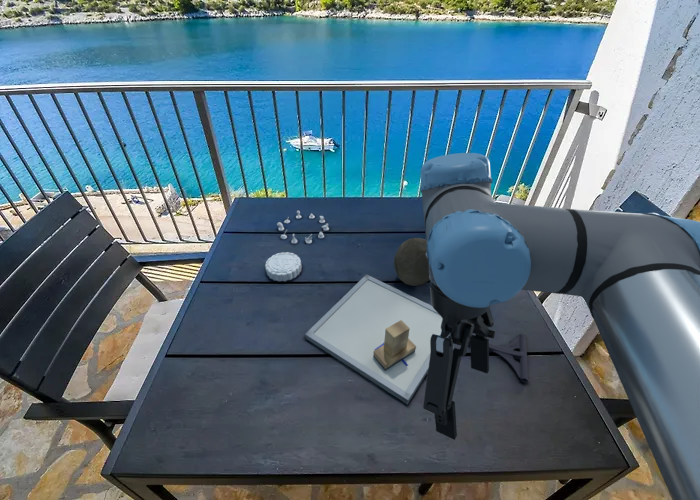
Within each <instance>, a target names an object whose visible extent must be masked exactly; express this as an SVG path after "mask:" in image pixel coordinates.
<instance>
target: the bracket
mask: <svg viewBox="0 0 700 500" xmlns="http://www.w3.org/2000/svg"><path fill="white" fill-rule="evenodd" d="M468 346H470V339H469V343H468ZM527 346H528V345H527V335H526V334H525V333H520V334H519V335H518V336H517V337H516V338H515V339H514V340H513V341H511V342H510V343H508V344H502V345H498V344H492V343H489V353H493V354H496V355H498V356H499V357H501V358H502V359H504V360H505V361H506V362H507V363H508V364H509V365H510V366H511V367H512V369H513V370H514V372H515V373H516V375H517V378H518V379H520V382H521V383H529V372H528V371H529V370H528V350H527V349H528V348H527ZM518 350H519V351H518ZM516 360H519V362H518V361H516Z"/></svg>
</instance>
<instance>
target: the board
mask: <svg viewBox="0 0 700 500" xmlns="http://www.w3.org/2000/svg"><path fill="white" fill-rule="evenodd" d="M442 319H443V318H442V317H441V316H440V315H439V314H438V313H437V312H436V311H435V309H434V308H433V306H432V304H430V303H427V302H425V301H423V300H421V299H418V298H416V297H414V296H412V295H411V294H408V293H406V292H404V291H402V290H400V289H397V288H396V287H394V286H392V285H389V284H388V283H385V282H383V281H381V280H379V279H377V278H375V277H373V276H370V275H369V274H365V275H363V277H362V278H361V279H360V280H359V281H358V282H357V283H355V284H354V285H353V287H352V288H351V289H350V290H349V291H348V292H347V293H345V294H344V296H342V298H341V299H340V300H339V301H337V302H336V303H335V304H334V305H333V306H332V307H331V308H330V309H329V310H328V311H327V312H326V313H325V314H323V316H322V317H321V318H320V319H319V320H318V321H317V322H316V323H315V324H314V325H313V326H312V327H310V329H309V330H308V331H306V332H305V334H304V337H305V339H306V340H307V341H309V342H310V343H312V344H313V345H315V346H317V347H318V348H320V349H321V350H323V351H324V352H326V353H327V354H329V355H330V356H332V357H334V358H335V359H337V360H338V361H340V362H341V363H343V364H344V365H345V366H348V367H349V368H350V369H352V370H353V371H355V372H356V373H358V374H359V375H362V376H363V377H364V378H366V379H368V380H369V381H371V382H372V383H374V384H375V385H376V386H379V388H380V389H381V388H382V390H385V391H386V392H387V393H389V394H391V395H392V396H394V397H395V398H397V399H398V400H399V401H400V402H401V401H402V402H403V403H405V404H406V405H409V403H410V401H411V400H412V398H413V397H414V395H415V393H416V391H417V390H418V389H419V387H420V385H421V384H422V382H423V380H424V378H425V377H426V375H428V368H429V361H430V353H431V348H430V339H431V336H432V334H435V335H439V336H440V335H441V331H442V330H441V323H442ZM400 320H402V321H403V322H404V323H405V324H406V325H407V326H408V327H409V328H410V330H409V336H408V339H409V340H410V341H411V342H412V343H413V344H414V345H415V346H416V350H415V352H414V353H413V354H411V355H410V356H408V357H406V358H405V359H403V360H402V361H400V362H399V363H397V364H395V365H394V366H392V367H391V368H389V369H388V370H386V371H385V370H384V369H383V368H382V367H381V365H380V364H379V363H378V362H377V361H376V360H375V358H374V357H373V353H374V351H375V350H376V349H378V348H380V347H381V346H383V345H384V340H385V329H386V328H388V327H390V326H392V325H393V324H395V323H397V322H399V321H400Z"/></svg>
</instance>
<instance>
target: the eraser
mask: <svg viewBox="0 0 700 500" xmlns="http://www.w3.org/2000/svg"><path fill="white" fill-rule="evenodd" d="M409 330H410V328H409V327H408V326H407V325H406V324H405V323H404V322H403V321H402V320H400V321H399V322H397V323H395V324H393V325H392V326H390V327H388V328H386V329H385V340H384V345H383V346H381V347H380V348H378V349H376V350H375V351H374V353H373V357H374V358H375V360H376V361H377V362H378V363H379V364H380V365H381V367H382V368H383V369H384V370H385V371H386V370H388V369H389V368H391V367H392V366H394V365H395V364H397V363H399V362H400V361H402V360H403V359H405V358H406V357H408V356H410V355H411V354H413V353H414V352H415V350H416V346H415V345H414V344H413V343H412V342H411V341H410V340H409V339H408V336H409Z"/></svg>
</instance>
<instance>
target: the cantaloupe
mask: <svg viewBox="0 0 700 500" xmlns="http://www.w3.org/2000/svg"><path fill="white" fill-rule="evenodd" d="M426 252H427V241H426V238H422V237H412V238H409V239H407V240H404V241H403V242H402V243H400V244H399V246H398V248H397V250H396V252H395V255H394V259H393V267H394V270H395V274H396V275H397V277H398V279H399V280H400V281H401V282H402V283H403V284H405V285H407V286H411V287H417V286H418V287H419V286H422V285H424V284H426V283H428V282H430V277H429V266H428V258H427V257H426Z"/></svg>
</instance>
